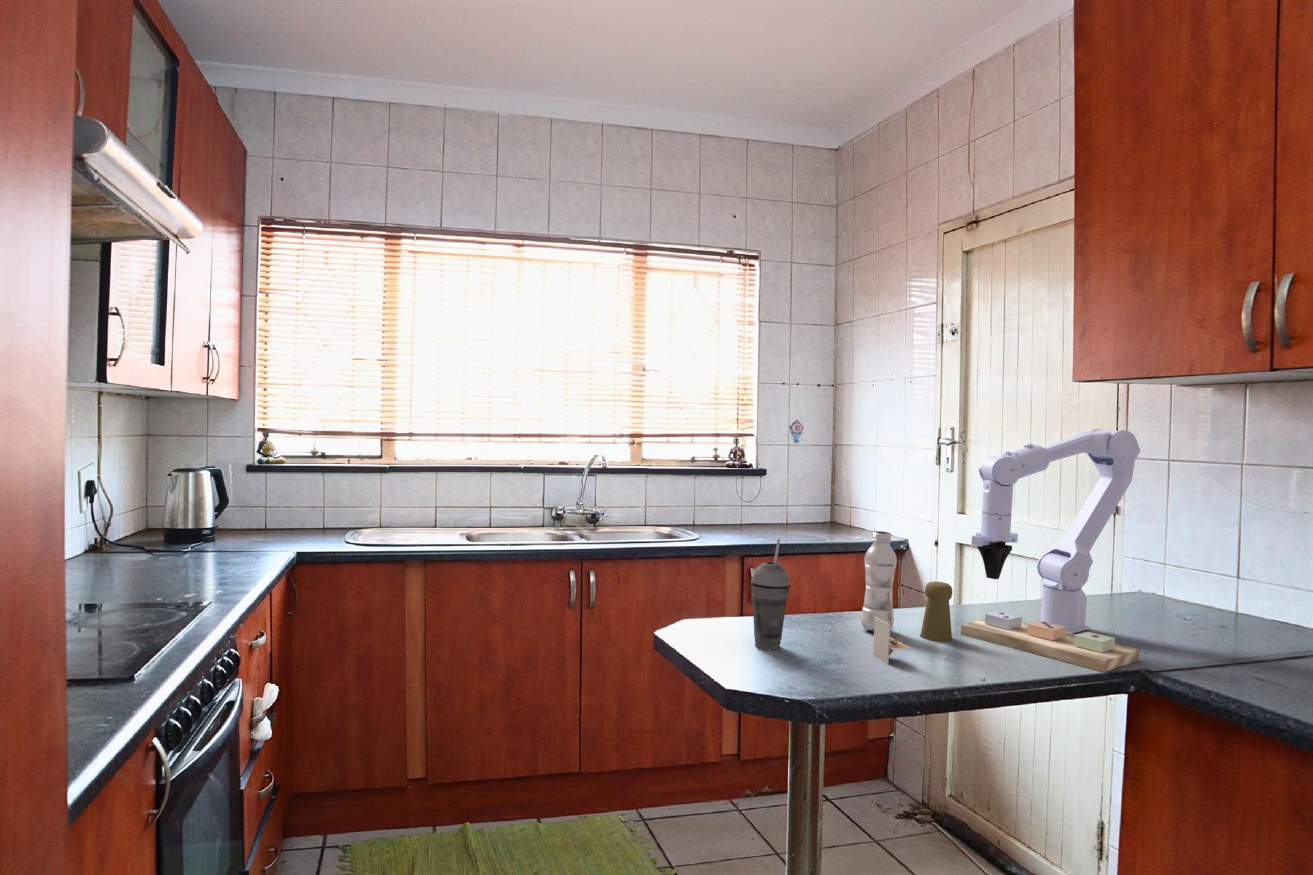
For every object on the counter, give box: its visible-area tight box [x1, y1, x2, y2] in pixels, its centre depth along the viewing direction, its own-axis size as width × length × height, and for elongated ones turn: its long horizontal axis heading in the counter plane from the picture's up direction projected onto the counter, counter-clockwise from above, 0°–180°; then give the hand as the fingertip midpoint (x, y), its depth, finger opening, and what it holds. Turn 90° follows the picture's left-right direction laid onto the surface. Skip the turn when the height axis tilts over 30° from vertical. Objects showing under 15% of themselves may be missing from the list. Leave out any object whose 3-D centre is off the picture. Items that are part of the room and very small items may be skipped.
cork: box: [919, 581, 953, 643], centre depth 164 cm, size 6×6×11 cm
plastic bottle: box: [860, 530, 898, 632], centre depth 167 cm, size 6×7×20 cm
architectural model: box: [872, 617, 911, 665], centre depth 147 cm, size 3×7×7 cm, turn 12°
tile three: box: [1028, 620, 1067, 640], centre depth 161 cm, size 5×5×2 cm
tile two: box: [984, 610, 1023, 630], centre depth 168 cm, size 5×5×2 cm
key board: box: [960, 618, 1141, 673], centre depth 161 cm, size 14×28×2 cm, turn 38°
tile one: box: [1074, 631, 1116, 653], centre depth 154 cm, size 5×5×2 cm
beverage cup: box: [750, 538, 791, 651], centre depth 152 cm, size 7×7×20 cm
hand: (992, 578), depth 174 cm, fingers closed
